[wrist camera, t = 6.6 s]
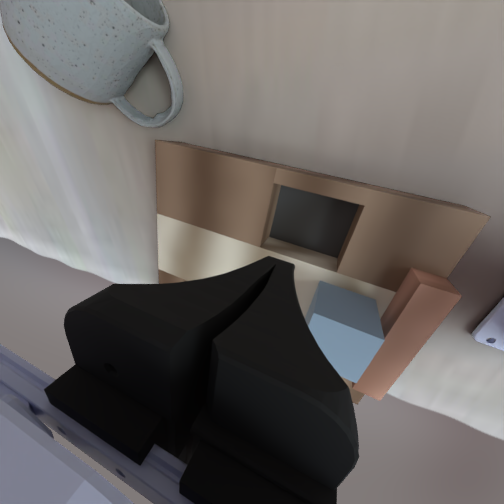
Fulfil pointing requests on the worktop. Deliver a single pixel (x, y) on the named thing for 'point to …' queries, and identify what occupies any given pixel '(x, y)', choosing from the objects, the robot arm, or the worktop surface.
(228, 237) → the trap board
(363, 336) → the block
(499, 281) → the worktop surface
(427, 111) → the worktop surface
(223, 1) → the worktop surface
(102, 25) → the ceramic mug
